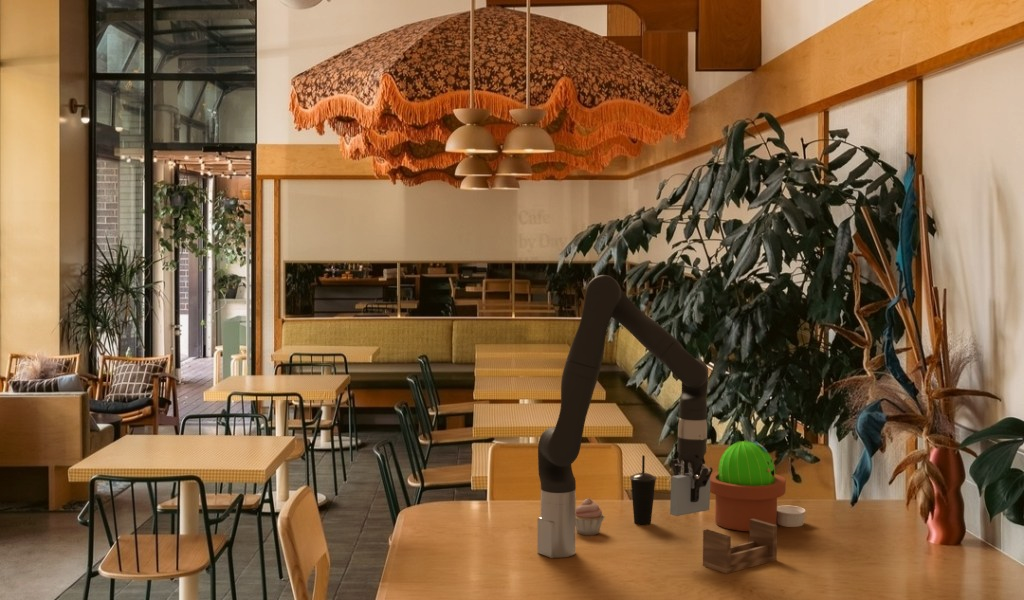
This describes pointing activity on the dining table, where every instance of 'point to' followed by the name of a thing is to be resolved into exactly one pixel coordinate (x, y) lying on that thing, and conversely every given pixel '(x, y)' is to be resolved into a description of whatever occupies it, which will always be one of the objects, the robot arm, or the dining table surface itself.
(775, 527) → the wooden card holder
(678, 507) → the gray rectangular slab
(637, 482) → the drinking cup
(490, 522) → the dining table surface
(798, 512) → the ramekin
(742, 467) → the potted cactus
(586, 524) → the cupcake
